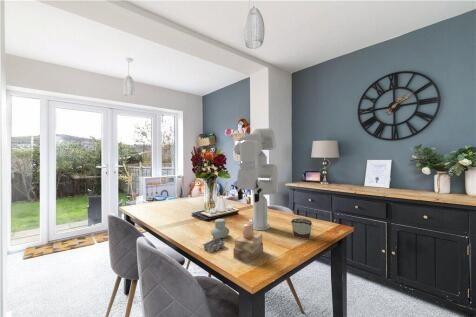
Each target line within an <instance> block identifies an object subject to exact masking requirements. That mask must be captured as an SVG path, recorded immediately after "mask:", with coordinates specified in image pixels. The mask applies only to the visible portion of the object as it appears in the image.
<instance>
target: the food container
mask: <svg viewBox="0 0 476 317" xmlns="http://www.w3.org/2000/svg"><path fill="white" fill-rule="evenodd" d="M290 223H291V228H292V234H293V235H292V237H293V238H299V239H303V240H308V239H309V240H311V233H312V232H311V231H312V227H313V222H312V221H311V219H307V218H301V217H299V218H292V219H291V221H290Z"/></svg>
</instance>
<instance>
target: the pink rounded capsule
mask: <svg viewBox="0 0 476 317" xmlns="http://www.w3.org/2000/svg"><path fill="white" fill-rule="evenodd" d="M253 233H254V229H253V224H252V223H249V222H248V223H243V224H242V234H243V238H245V239H252V238H253Z"/></svg>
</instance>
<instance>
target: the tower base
mask: <svg viewBox="0 0 476 317" xmlns="http://www.w3.org/2000/svg"><path fill="white" fill-rule="evenodd" d="M263 252H264V243H263V242H262V244H261V245H260V246H259V247H258V248H257V249H256V250H255V251H254V252H253V253H250V252H245V251H240V250H235V247H234V248H233V253H232V254H233V258H235V259H238V260H241V261H244V262H249V263H250V262H252V261H253V260H255V258H257V257H258V256H260V255H261V254H263Z"/></svg>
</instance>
